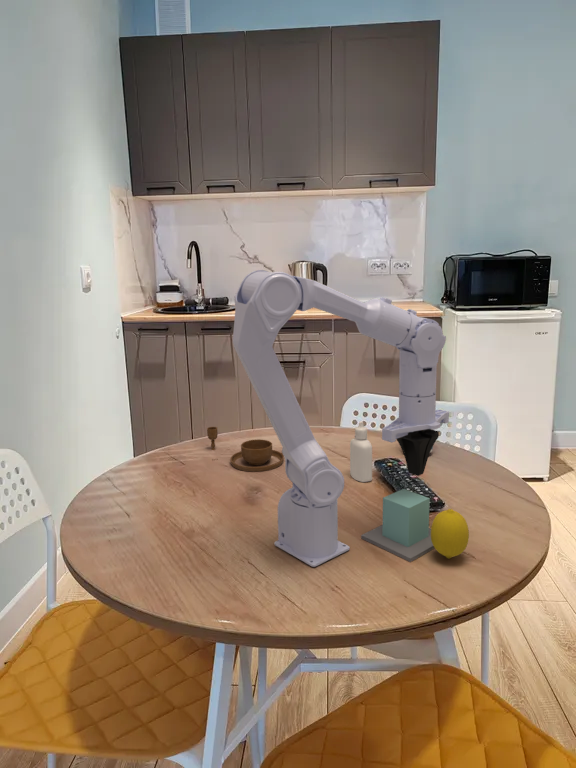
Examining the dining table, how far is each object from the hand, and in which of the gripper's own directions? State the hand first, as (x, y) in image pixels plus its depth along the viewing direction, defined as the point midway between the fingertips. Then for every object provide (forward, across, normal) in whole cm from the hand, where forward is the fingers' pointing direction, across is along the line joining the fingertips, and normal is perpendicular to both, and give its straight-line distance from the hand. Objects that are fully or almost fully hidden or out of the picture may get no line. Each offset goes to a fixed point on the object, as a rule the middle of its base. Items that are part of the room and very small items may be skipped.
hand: (415, 473), depth 95 cm
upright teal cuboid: (+9, -4, -1) cm, 10 cm away
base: (+10, -4, -1) cm, 11 cm away
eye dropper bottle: (+10, +10, +22) cm, 26 cm away
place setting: (+11, +1, +48) cm, 49 cm away
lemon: (+10, -4, -9) cm, 14 cm away
